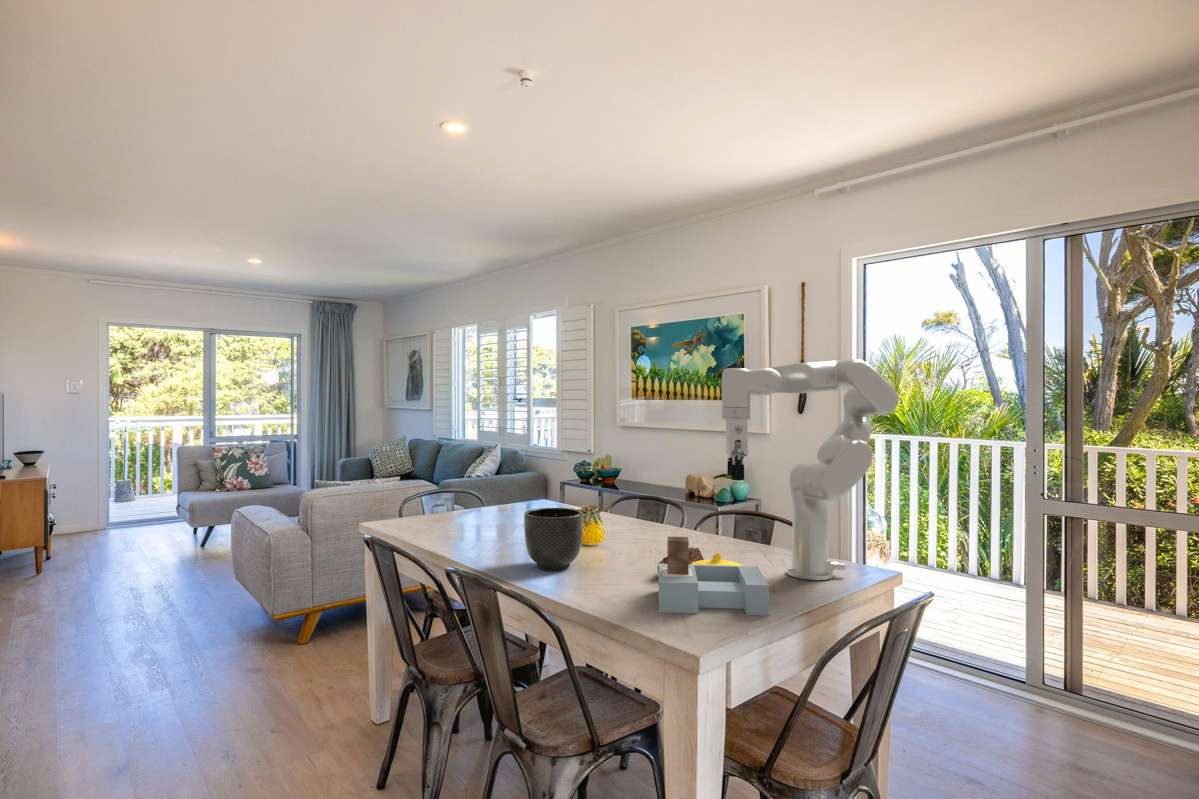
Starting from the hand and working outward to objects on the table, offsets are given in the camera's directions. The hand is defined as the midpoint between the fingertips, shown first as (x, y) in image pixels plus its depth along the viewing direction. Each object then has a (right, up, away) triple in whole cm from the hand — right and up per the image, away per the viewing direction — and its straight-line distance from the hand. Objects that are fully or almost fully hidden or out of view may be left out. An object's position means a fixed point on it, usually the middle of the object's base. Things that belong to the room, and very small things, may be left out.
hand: (735, 477), depth 178 cm
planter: (-50, -28, +15) cm, 59 cm away
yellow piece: (-4, -29, +3) cm, 29 cm away
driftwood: (-13, -29, +10) cm, 33 cm away
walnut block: (-17, -21, -16) cm, 32 cm away
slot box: (-10, -28, -17) cm, 34 cm away
